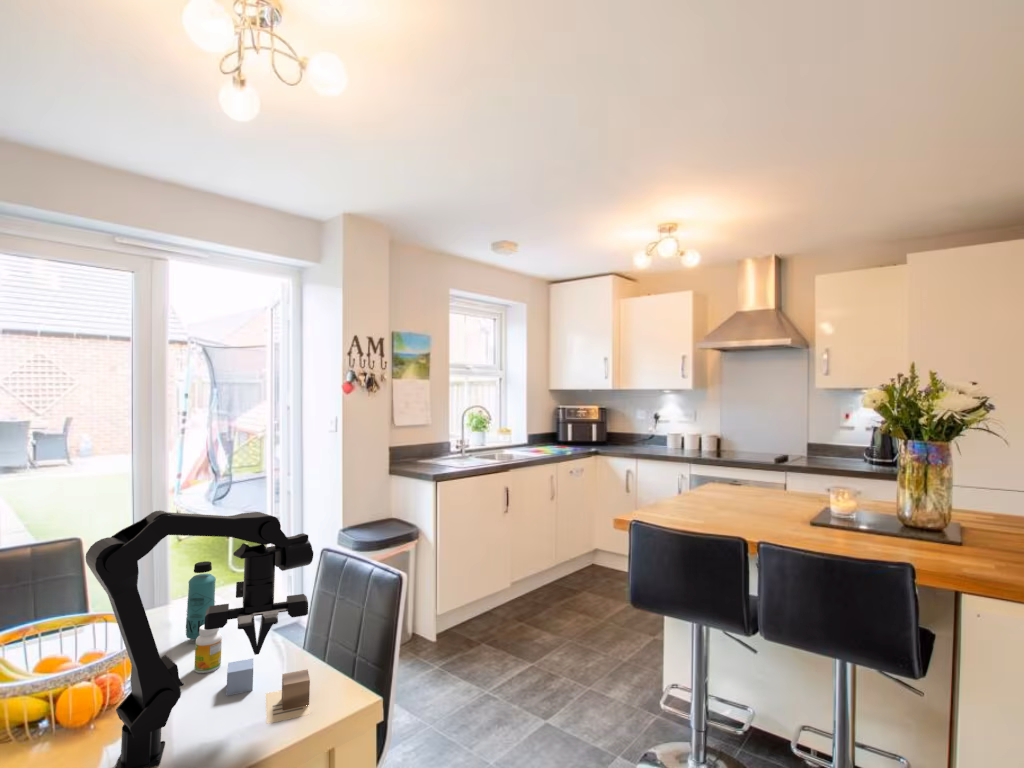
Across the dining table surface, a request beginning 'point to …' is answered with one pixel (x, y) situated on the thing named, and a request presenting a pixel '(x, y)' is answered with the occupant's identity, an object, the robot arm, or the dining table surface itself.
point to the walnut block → (295, 689)
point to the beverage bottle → (199, 598)
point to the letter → (276, 710)
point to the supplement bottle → (208, 650)
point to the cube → (240, 676)
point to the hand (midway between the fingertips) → (256, 653)
